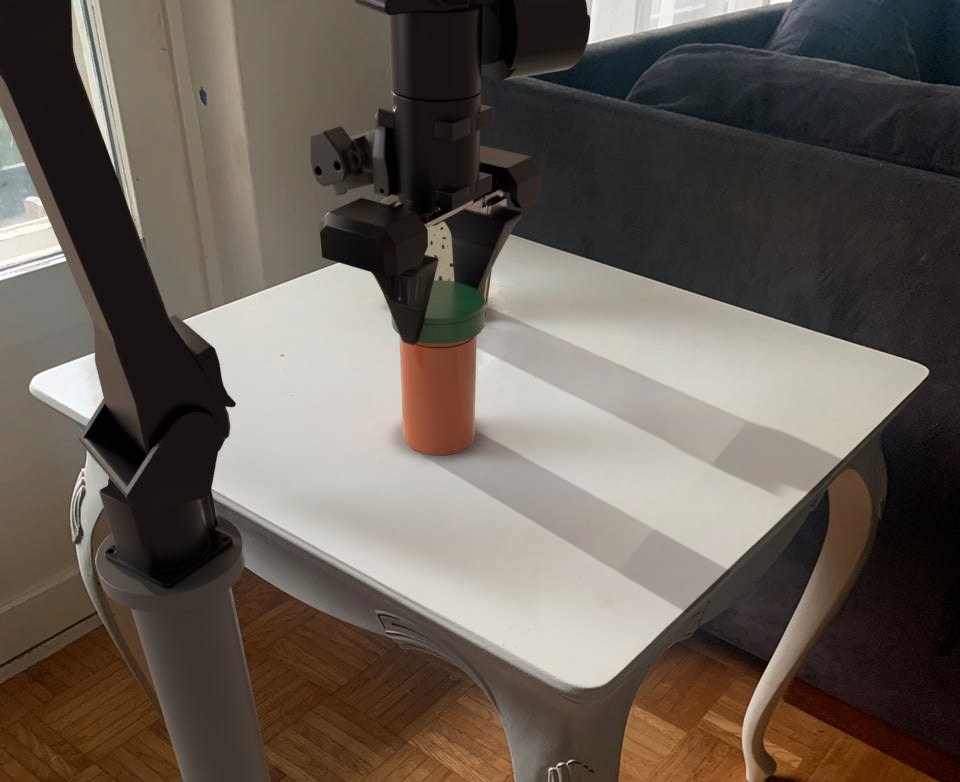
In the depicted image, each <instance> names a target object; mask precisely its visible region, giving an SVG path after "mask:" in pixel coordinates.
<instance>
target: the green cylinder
mask: <svg viewBox="0 0 960 782" xmlns="http://www.w3.org/2000/svg"><path fill="white" fill-rule="evenodd" d="M390 314H391V313H390ZM390 317H391V327H392V329H393V330H394V331H395V332H396V334H398V335H400V334H399V331H398V329H397V326H396V324H395V321H394V319H393V317H392V314H391V315H390ZM485 320H486V317H485V298H484V295H483V294H482V293H481V292H480V291H479V290H477V289H476V288H474V287H472V286H469V285H466V284H463V283H459V282H453V281H444V280H434V282H433V286H432V290H431V294H430V298H429V302H428V306H427V310H426V315H425V319H424V323H423V327H422V330H421V333H420V336H419V339H418V342H420V343H427V344H450V343H457V342H462V341H465V340H468V339H471V338H473V337H475V336H476V335H477V336H478V335H479V334H480V333H482V331H483V330H484V328H485V323H486V321H485Z"/></svg>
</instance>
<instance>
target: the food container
mask: <svg viewBox="0 0 960 782" xmlns="http://www.w3.org/2000/svg"><path fill="white" fill-rule="evenodd" d="M380 203H383V204H387V205H391V206H398V205H400V204H401V203H400V202H398V196H394V195H391V196H389V197H385V198H383V199H382V200H381V202H380ZM427 229H428V248H427V250H426V253H425V255H428V256H432V257H435V258H438V259H439V261H438V265H437V270H436V274H435V278H434V280H444V281H453V282H454V269H453V254H452V239H451V238H452V237H451V233H450V230H449V228H448V227H447V225H446V223H445V221H444V220H442V221H440V222H438V223H436V224H434V225H432V226H430V227H428V228H427ZM492 271H493V268H492V269H491V271H490V273H489V275H488V277H487V279H486V281H485V283H484V285H483V287H482V289H481V291H480V292H481V293H482V294H483V295H484V298H485V318H486V316H487V310H488V300H489V294H490V286H491V278H492Z"/></svg>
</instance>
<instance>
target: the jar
mask: <svg viewBox="0 0 960 782" xmlns="http://www.w3.org/2000/svg"><path fill="white" fill-rule="evenodd" d="M398 335H399V334H398ZM477 336H478V335H476V336H475V337H473V338H471V339H468V340H465V341H462V342H457V343H450V344H427V343H420V342H417V344H415V345H410V344H407V343H404V342H403V341H402V339H401V336H400V335H399V337H398V338H399V361H400V363H399V364H400V382H401V383H400V384H401V388H400V389H401V413H402V417H401V418H402V438H403V440H404V442H405V445H407V447H409V448H411V449H412V450H414V451H416V452H419V453H421V454H424V455H425V454H426V455H433V456H445V455H446V456H447V455H453V454H456V453H460V452H462V451H464V450H466V449H467V448H469V447H470V446H471V445H472V444H473V442H474V440H475V437H476V435H475V434H476V430H475V429H476V390H477V389H476V387H477V385H476V384H477V344H478V343H477V341H478V340H477V338H478V337H477Z"/></svg>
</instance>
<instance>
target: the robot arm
mask: <svg viewBox="0 0 960 782" xmlns="http://www.w3.org/2000/svg"><path fill="white" fill-rule="evenodd" d="M354 2H355V4H356V5H357V6H359V7H361V8H364V9H368V10H370V11H374V12H378V13H380V14H384V15H386V16H388V39H389V40H388V41H389V64H390V65H389V66H390V67H389V69H390V90H391V91H390V92H391V94H390V95H391V96H390V97H391V103H389V104H386V105H384V106H381V107H378V109H377V112H376V114H375V116H374V125H375V128H374V129H371V130H367V131H363V132H361V133H358V134H357V133H356V134H354V135H352V136H350V135H349V134H348V133H347V131H346V130H345V129H344V127H342V125H339V126H335V127H333V128H330V129H326V130H322V131H320V132H317V133H314V134H311V135H310V136H309V160H310V165H311V169H312V173H313V175H314V177H315V180H316V182H317V183H318V184H319V185H320V186H322V187H329V186H332V188H333V191H334V194H335V196H342V195H345V194H347V193H348V191H350V190H353V189H359V188H362V187H367V186H371V185H373V194H375V195H379V196H383V197H385V198H387V197H389V196H392V195H394V196H398V202H400V203H401V204H400V205H398V206H391V205H387V204H383V203H381V202H379V201H376V200H371V199H367V198H365V197H359V198H357V199H355V200H353V201H350V202H348V203H346V204H344V205H342V206H339V207H337V208H334V209H332V210H330V211H328V212H327V213H326V214H325V215H324V216H323V217H322V219H321V220H320V222H319V223H318V225H317V226H318V234H319V245H320V256H321V258H322V259H325V260H328V261H332V262H335V263H339V264H341V265H342V264H343V265H345V266H348V267H352V268H356V269H359V270H362V271H366V272H370V273H371V274H372V275H373V277H374V279H375V281H376V282H377V284H378V287H379V288H380V290H381V292H382V295H383V296H384V297H383V298H384V299H385V302H386V304H387V306H388V307H387V308H388V309H389V311H390V314H392V317H393V319H394V321H395V324H396V326H397V329H398V331H399V334H400V336H401V339H402V341H403V342H404V343H407V344H410V345H415V344H417V342H418V339H419V336H420V333H421V330H422V327H423V323H424V319H425V315H426V310H427V306H428V302H429V298H430V294H431V290H432V286H433V282H434V278H435V274H436V270H437V265H438V261H439V259H438V258H435V257H432V256H428V255H425V253H426V250H427V248H428V229H427V228H428V227H430V226H432V225H434V224H436V223H438V222H440V221H442V220H444V221H445V223H446V225H447V227H448V228H449V230H450V233H451V237H452V238H451V239H452V254H453V269H454V282H459V283H463V284H466V285H469V286H472V287H474V288H476V289H477V290H479V291H481V289H482V287H483V285H484V283H485V281H486V279H487V277H488V275H489V273H490V271H491V269H492V270H493V267H494V265H495V263H496V261H497V259H498V257H499V256H500V254H501V251H502V250H503V248H504V246H505V244H506V242H507V241H508V238H509V237H510V235H511V233H512V231H513V229H514V227H515V226H516V225H517V222H519V221H521V219H522V217H523V211H522V210H521V209H523V208H526V207H527V206H529V205H531V204H533V203H535V202H537V201H538V200H540V197H541V183H542V181H541V180H542V171H541V170H540V168H539V166H538V165H537V163H536V162H535V160H534V159H533V157H532V156H530V155H525V154H521V153H517V152H512V151H507V150H503V149H498V148H493V147H489V146H485V145H481V131H482V130H483V129H485V128H488V127H490V126H492V125H494V121H495V120H494V119H495V118H494V117H495V107H494V106H490V105H485V104H482V73H484V74H485V75H486V76H488V77H489V78H490V79H491V80H494V81H506V80H513V79H517V78H524V77H531V76H537V75H543V74H548V73H549V74H550V73H555V72H560V71H566V70H569V69H571V68H573V67H575V66H576V65H577V64H578V63H579V61H580V60H581V59H582V57H583V55H584V53H585V51H586V48H587V45H588V43H589V37H590V32H591V16H590V15H589V13H588V4H587V0H354ZM72 3H73V2H72V0H0V110H1V112H2V114H3V116H4V120H5V122H6V124H7V126H8V128H9V131H10V133H11V135H12V137H13V139H14V142H15V145H16V147H17V149H18V152H19V153H20V156H21V159H22V161H23V164H24V165H25V168H26V170H27V172H28V175H29V177H30V179H31V181H32V184H33V186H34V189H35V191H36V193H37V195H38V198H39V200H40V202H41V205H42V207H43V210H44V212H45V214H46V216H47V218H48V221H49V223H50V225H51V228H52V230H53V233H54V235H55V238H56V239H57V242H58V244H59V246H60V249H61V251H62V253H63V256H64V258H65V261H66V263H67V265H68V267H69V270H70V272H71V275H72V276H73V279H74V281H75V284H76V286H77V288H78V291H79V293H80V296H81V297H82V300H83V303H84V305H85V307H86V310H87V311H88V314H89V317H90V318H91V321H92V322H91V323H92V326H93V333H94V334H93V339H94V341H93V342H94V364H95V367H96V372H97V376H98V380H99V385H100V388H101V392H102V396H103V398H102V399H101V401H100V403H99V404H98V406H97V408H96V410H95V411H94V413H93V414H92V416H91V417H90V419H89V421H88V422H87V423H86V425H85V427H84V428H83V430H82V432H81V433H80V434H79V436H78V441H79V443H80V444H81V445H82V446H83V448H84V449H85V450H86V451H87V453H88V454H89V456H91V457H92V459H93V460H94V461H95V463H97V464H98V466H99V467H100V468H101V469H102V470H103V472H104V473H105V474H106V475H107V476H108V478H107V481H106V485H105V486H103V487H102V488H100V489H99V490H98V493H99V497H100V500H101V503H102V506H103V510H104V513H105V516H106V519H107V523H108V527H109V529H110V534H111V533H112V537H113V540H114V543H115V544H113V545H112V546H110V547H109V548H107V549H106V550H105V551H104V555H105V558H106V559H107V560H109V561H111V562H113V563H115V564H117V565H119V566H121V567H123V568H125V569H127V570H128V571H130V572H132V573H134V574H136V575H138V576H140V577H142V578H144V579H146V580H148V581H150V582H152V583H154V584H156V585H158V586H160V587H162V588H164V589H169V588H172V587H174V586H175V585H177V584H178V583H180V582H181V581H183V580H184V579H185V578H187V577H188V576H190V575H191V574H192V573H194V572H195V571H197V570H198V569H200V568H201V567H202V566H204V565H205V564H207V563H208V562H209V561H211V560H212V559H214V558H215V557H216V556H218V555H219V554H221V553H222V552H224V551H225V550H226V549H228V548H229V547H231V546H232V544H233V541H232V537H231V536H229V535H227V534H225V533H222V532H220V531H218V530H216V529H215V528H216V527H217V526H218V519H217V515H218V514H217V510H216V505H215V500H214V495H213V490H212V488H213V483H214V477H215V472H216V466H217V461H218V456H219V455H218V454H219V452H220V451H221V449H222V447H223V446H224V443H225V441H226V440H227V439H228V438H229V437H230V434H231V420H230V419H231V418H230V414H229V411H228V409H227V408H235V407H236V406H237V402H236V401H235V400H234V399H233V398H232V396H230V394H229V393H228V391H227V388H226V387H225V385H224V381H223V376H222V370H221V369H222V368H221V362H220V359H219V356H218V353H217V350H216V348H215V347H214V346H213V345H212V344H210V342H208V341H207V340H206V339H205V338H204V337H202V336H201V335H200V334H199V333H198V332H197V331H195V330H194V329H193V328H192V327H191V326H190V325H188V324H187V323H186V322H185V321H183V319H182V318H180V317H179V316H178V315H176V314H173V315H171V316H170V317H169V313H168V312H167V311H168V310H167V309H166V306H165V304H164V300H163V298H162V294H161V292H160V290H159V287H158V284H157V281H156V279H155V276H154V274H153V273H154V272H153V270H152V268H151V265H150V262H149V259H148V257H147V254H146V252H145V249H144V246H143V243H142V240H141V238H140V235H139V231H138V229H137V227H136V224H135V221H134V218H133V216H132V213H131V210H130V208H129V204H128V201H127V199H126V196H125V194H124V191H123V188H122V185H121V182H120V180H119V177H118V175H117V172H116V169H115V166H114V163H113V161H112V157H111V156H110V153H109V150H108V148H107V145H106V142H105V139H104V137H103V133H102V131H101V128H100V125H99V123H98V120H97V118H96V117H97V116H96V115H95V112H94V110H93V106H92V104H91V103H92V102H91V101H90V98H89V95H88V93H87V90H86V87H85V85H84V81H83V78H82V76H81V74H80V70H79V68H78V64H77V61H76V57H75V49H74V34H73V5H72ZM504 193H507V194H509V199H510V201H511V203H512V205H513V206H514V207H511V206H507V200H508V199H507V198H508V197H507V196H504ZM491 272H492V271H491ZM392 317H391V318H392ZM399 334H398V335H399ZM216 514H217V515H216Z"/></svg>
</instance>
